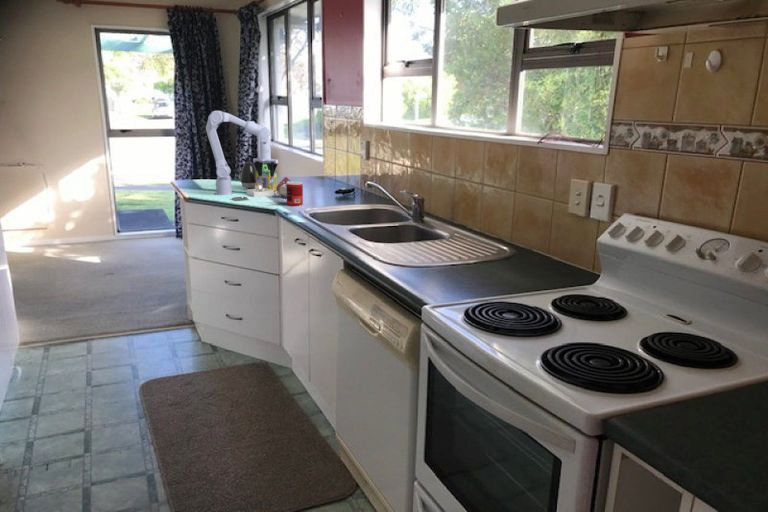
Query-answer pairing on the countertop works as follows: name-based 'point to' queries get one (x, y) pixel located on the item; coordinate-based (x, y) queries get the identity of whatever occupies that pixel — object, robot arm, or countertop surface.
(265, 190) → the parts tray
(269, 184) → the chalk box
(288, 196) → the canned food
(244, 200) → the socket seat
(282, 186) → the brake caliper
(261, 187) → the silver cylinder copper tab
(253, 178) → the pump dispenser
